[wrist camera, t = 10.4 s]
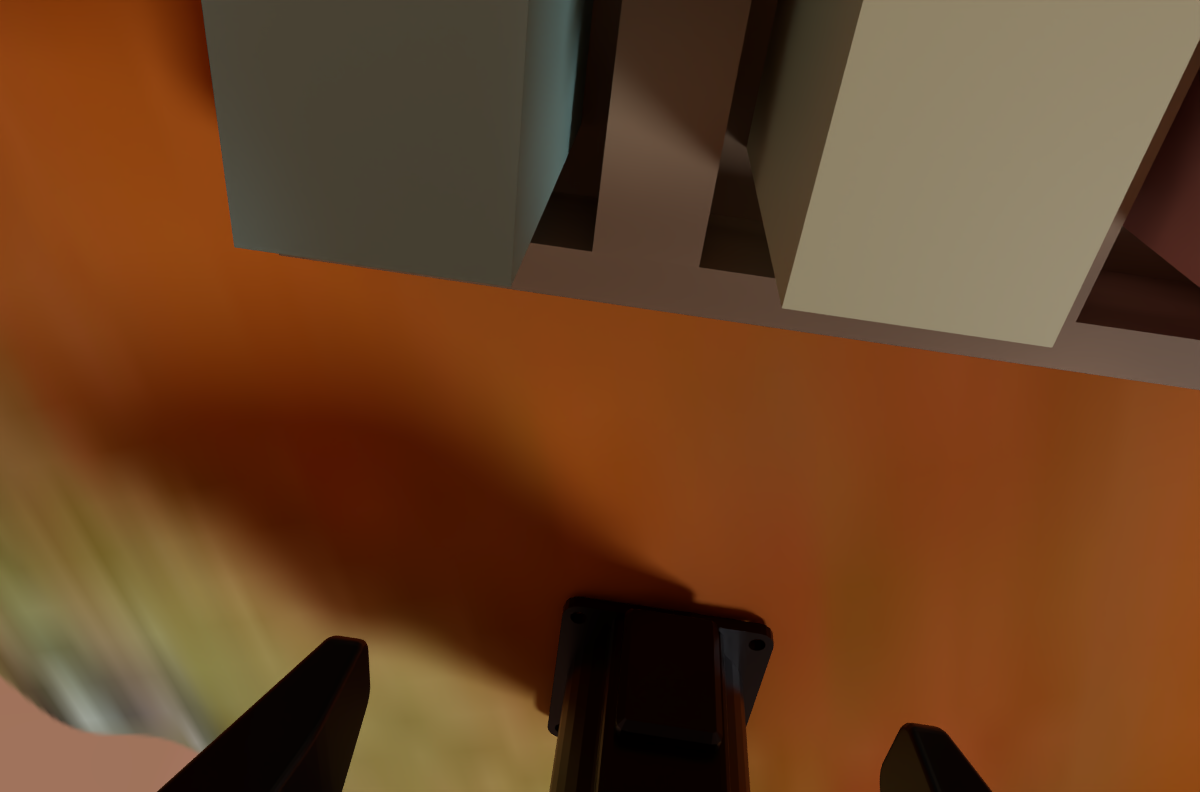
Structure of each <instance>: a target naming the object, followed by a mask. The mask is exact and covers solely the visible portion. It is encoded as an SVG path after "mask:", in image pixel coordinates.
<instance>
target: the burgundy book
mask: <svg viewBox="0 0 1200 792" xmlns="http://www.w3.org/2000/svg"><path fill="white" fill-rule="evenodd" d="M1123 227H1124V228H1126V229H1127V230H1128V231H1129V232H1131V233H1132V234H1133V235H1134V236H1136V237H1137V238H1138V239H1139V240H1141V241H1142V242H1143V243H1144V244H1146V245H1147V246H1148V247H1149V248H1151V249H1152V250H1153V251H1154V252H1156V253H1157V254H1158V255H1159V256H1161V257H1162V258H1163V259H1164V260H1166V261H1167V262H1168V263H1170V264H1171V265H1172V266H1173V267H1175V268H1176V269H1177V270H1178V271H1180V272H1181V273H1182V274H1183V275H1185V276H1186V277H1187V278H1188V279H1190V280H1191V281H1192V282H1193V283H1195V284H1196V285H1197V286H1198V287H1200V67H1199V70H1198V72H1197V74H1196V76H1195V78H1194V80H1193V82H1192V84H1191V86H1190V88H1189V90H1188V92H1187V94H1186V96H1185V98H1184V100H1183V102H1182V104H1181V107H1180V109H1179V111H1178V113H1177V115H1176V117H1175V119H1174V121H1173V123H1172V125H1171V127H1170V129H1169V131H1168V133H1167V135H1166V137H1165V139H1164V141H1163V144H1162V146H1161V148H1160V150H1159V152H1158V154H1157V156H1156V158H1155V160H1154V162H1153V164H1152V166H1151V168H1150V170H1149V172H1148V174H1147V176H1146V178H1145V181H1144V183H1143V185H1142V187H1141V189H1140V191H1139V193H1138V195H1137V197H1136V199H1135V201H1134V203H1133V205H1132V207H1131V209H1130V211H1129V213H1128V216H1127V218H1126V220H1125V222H1124V224H1123Z"/></svg>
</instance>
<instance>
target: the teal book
mask: <svg viewBox="0 0 1200 792" xmlns="http://www.w3.org/2000/svg"><path fill="white" fill-rule="evenodd" d="M593 1H594V0H201V3H202V11H203V18H204V25H205V33H206V40H207V48H208V55H209V62H210V70H211V77H212V85H213V92H214V99H215V107H216V114H217V122H218V129H219V136H220V144H221V151H222V159H223V166H224V173H225V181H226V188H227V196H228V203H229V210H230V218H231V225H232V233H233V240H234V247H237V248H244V249H251V250H258V251H265V252H272V253H279V254H285V255H292V256H299V257H306V258H313V259H320V260H327V261H334V262H341V263H348V264H354V265H361V266H368V267H375V268H382V269H389V270H396V271H403V272H410V273H417V274H424V275H430V276H437V277H444V278H451V279H458V280H465V281H472V282H479V283H486V284H493V285H499V286H506V287H511V285H512V283H513V281H514V279H515V276H516V274H517V272H518V269H519V267H520V265H521V262H522V260H523V258H524V255H525V253H526V251H527V248H528V246H529V244H530V242H531V239H532V237H533V235H534V232H535V230H536V228H537V225H538V223H539V221H540V218H541V216H542V214H543V212H544V209H545V207H546V205H547V202H548V200H549V198H550V195H551V193H552V191H553V188H554V186H555V184H556V181H557V179H558V177H559V175H560V172H561V170H562V168H563V165H564V163H565V161H566V158H567V156H568V154H569V151H570V149H571V147H572V144H573V142H574V140H575V138H576V135H577V133H578V131H579V128H580V126H581V120H582V110H583V100H584V90H585V81H586V71H587V61H588V51H589V41H590V31H591V21H592V11H593Z"/></svg>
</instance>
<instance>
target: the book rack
mask: <svg viewBox="0 0 1200 792" xmlns="http://www.w3.org/2000/svg"><path fill="white" fill-rule="evenodd" d="M777 2H778V0H594V1H593V11H592V21H591V31H590V41H589V51H588V61H587V71H586V81H585V90H584V100H583V110H582V120H581V126H580V128H579V131H578V133H577V135H576V138H575V140H574V142H573V144H572V147H571V149H570V151H569V154H568V156H567V158H566V161H565V163H564V165H563V168H562V170H561V172H560V175H559V177H558V179H557V181H556V184H555V186H554V188H553V191H552V193H551V195H550V198H549V200H548V202H547V205H546V207H545V209H544V212H543V214H542V216H541V218H540V221H539V223H538V225H537V228H536V230H535V232H534V235H533V237H532V239H531V242H530V244H529V246H528V248H527V251H526V253H525V255H524V258H523V260H522V262H521V265H520V267H519V269H518V272H517V274H516V276H515V279H514V281H513V283H512V285H511V287H506V286H499V285H493V284H486V283H479V282H472V281H465V280H458V279H451V278H444V277H437V276H430V275H424V274H417V273H410V272H403V271H396V270H389V269H382V268H375V267H368V266H361V265H354V264H348V263H341V262H334V261H327V260H320V259H313V258H306V257H299V256H292V255H285V254H279V255H281V256H288V257H295V258H302V259H309V260H316V261H322V262H329V263H336V264H343V265H350V266H357V267H363V268H370V269H377V270H384V271H391V272H398V273H404V274H411V275H418V276H425V277H432V278H439V279H445V280H452V281H459V282H466V283H473V284H480V285H486V286H493V287H500V288H507V289H514V290H521V291H527V292H534V293H541V294H548V295H555V296H562V297H568V298H575V299H582V300H589V301H596V302H603V303H609V304H616V305H623V306H630V307H637V308H644V309H650V310H657V311H664V312H671V313H678V314H685V315H691V316H698V317H705V318H712V319H719V320H726V321H732V322H739V323H746V324H753V325H760V326H767V327H773V328H780V329H787V330H794V331H801V332H808V333H814V334H821V335H828V336H835V337H842V338H849V339H855V340H862V341H869V342H876V343H883V344H890V345H896V346H903V347H910V348H917V349H924V350H931V351H937V352H944V353H951V354H958V355H965V356H972V357H978V358H985V359H992V360H999V361H1006V362H1013V363H1019V364H1026V365H1033V366H1040V367H1047V368H1054V369H1060V370H1067V371H1074V372H1081V373H1088V374H1095V375H1101V376H1108V377H1115V378H1122V379H1129V380H1136V381H1142V382H1149V383H1156V384H1163V385H1170V386H1177V387H1183V388H1190V389H1197V390H1200V287H1198V286H1197V285H1196V284H1195V283H1193V282H1192V281H1191V280H1190V279H1188V278H1187V277H1186V276H1185V275H1183V274H1182V273H1181V272H1180V271H1178V270H1177V269H1176V268H1175V267H1173V266H1172V265H1171V264H1170V263H1168V262H1167V261H1166V260H1164V259H1163V258H1162V257H1161V256H1159V255H1158V254H1157V253H1156V252H1154V251H1153V250H1152V249H1151V248H1149V247H1148V246H1147V245H1146V244H1144V243H1143V242H1142V241H1141V240H1139V239H1138V238H1137V237H1136V236H1134V235H1133V234H1132V233H1131V232H1129V231H1128V230H1127V229H1126V228H1124V227H1123V224H1124V222H1125V220H1126V218H1127V216H1128V213H1129V211H1130V209H1131V207H1132V205H1133V203H1134V201H1135V199H1136V197H1137V195H1138V193H1139V191H1140V189H1141V187H1142V185H1143V183H1144V181H1145V178H1146V176H1147V174H1148V172H1149V170H1150V168H1151V166H1152V164H1153V162H1154V160H1155V158H1156V156H1157V154H1158V152H1159V150H1160V148H1161V146H1162V144H1163V141H1164V139H1165V137H1166V135H1167V133H1168V131H1169V129H1170V127H1171V125H1172V123H1173V121H1174V119H1175V117H1176V115H1177V113H1178V111H1179V109H1180V107H1181V104H1182V102H1183V100H1184V98H1185V96H1186V94H1187V92H1188V90H1189V88H1190V86H1191V84H1192V82H1193V80H1194V78H1195V76H1196V74H1197V72H1198V70H1199V67H1200V40H1199V42H1198V44H1197V46H1196V48H1195V50H1194V52H1193V54H1192V56H1191V58H1190V61H1189V63H1188V65H1187V67H1186V69H1185V71H1184V73H1183V75H1182V77H1181V79H1180V81H1179V84H1178V86H1177V88H1176V90H1175V92H1174V94H1173V96H1172V98H1171V100H1170V102H1169V104H1168V107H1167V109H1166V111H1165V113H1164V115H1163V117H1162V119H1161V121H1160V123H1159V125H1158V127H1157V130H1156V132H1155V134H1154V136H1153V138H1152V140H1151V142H1150V144H1149V146H1148V148H1147V151H1146V153H1145V155H1144V157H1143V159H1142V161H1141V163H1140V165H1139V167H1138V169H1137V171H1136V174H1135V176H1134V178H1133V180H1132V182H1131V184H1130V186H1129V188H1128V190H1127V192H1126V194H1125V197H1124V199H1123V201H1122V203H1121V205H1120V207H1119V209H1118V211H1117V213H1116V215H1115V217H1114V220H1113V222H1112V224H1111V226H1110V228H1109V230H1108V232H1107V234H1106V236H1105V238H1104V240H1103V243H1102V245H1101V247H1100V249H1099V251H1098V253H1097V255H1096V257H1095V259H1094V261H1093V263H1092V266H1091V268H1090V270H1089V272H1088V274H1087V276H1086V278H1085V280H1084V282H1083V284H1082V286H1081V289H1080V291H1079V293H1078V295H1077V297H1076V299H1075V301H1074V303H1073V305H1072V307H1071V309H1070V312H1069V314H1068V316H1067V318H1066V320H1065V322H1064V324H1063V326H1062V328H1061V330H1060V333H1059V335H1058V337H1057V339H1056V341H1055V343H1054V345H1053V347H1052V348H1051V347H1044V346H1037V345H1030V344H1023V343H1017V342H1010V341H1003V340H996V339H989V338H982V337H976V336H969V335H962V334H955V333H948V332H941V331H934V330H928V329H921V328H914V327H907V326H900V325H893V324H887V323H880V322H873V321H866V320H859V319H852V318H845V317H839V316H832V315H825V314H818V313H811V312H804V311H797V310H791V309H784V308H782V307H781V302H780V297H779V293H778V288H777V284H776V279H775V275H774V270H773V266H772V261H771V257H770V252H769V247H768V243H767V238H766V234H765V229H764V225H763V220H762V216H761V211H760V207H759V202H758V197H757V193H756V188H755V184H754V179H753V175H752V170H751V166H750V161H749V157H748V152H747V143H748V138H749V134H750V129H751V124H752V120H753V115H754V110H755V105H756V101H757V96H758V91H759V87H760V82H761V77H762V73H763V68H764V63H765V59H766V54H767V49H768V44H769V40H770V35H771V30H772V26H773V21H774V16H775V12H776V7H777Z"/></svg>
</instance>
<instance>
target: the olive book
mask: <svg viewBox="0 0 1200 792" xmlns="http://www.w3.org/2000/svg"><path fill="white" fill-rule="evenodd" d="M1199 40H1200V0H778V2H777V7H776V12H775V16H774V21H773V26H772V30H771V35H770V40H769V44H768V49H767V54H766V59H765V63H764V68H763V73H762V77H761V82H760V87H759V91H758V96H757V101H756V105H755V110H754V115H753V120H752V124H751V129H750V134H749V138H748V143H747V152H748V157H749V161H750V166H751V170H752V175H753V179H754V184H755V188H756V193H757V197H758V202H759V207H760V211H761V216H762V220H763V225H764V229H765V234H766V238H767V243H768V247H769V252H770V257H771V261H772V266H773V270H774V275H775V279H776V284H777V288H778V293H779V297H780V302H781V307H782V308H784V309H791V310H797V311H804V312H811V313H818V314H825V315H832V316H839V317H845V318H852V319H859V320H866V321H873V322H880V323H887V324H893V325H900V326H907V327H914V328H921V329H928V330H934V331H941V332H948V333H955V334H962V335H969V336H976V337H982V338H989V339H996V340H1003V341H1010V342H1017V343H1023V344H1030V345H1037V346H1044V347H1051V348H1052V347H1053V345H1054V343H1055V341H1056V339H1057V337H1058V335H1059V333H1060V330H1061V328H1062V326H1063V324H1064V322H1065V320H1066V318H1067V316H1068V314H1069V312H1070V309H1071V307H1072V305H1073V303H1074V301H1075V299H1076V297H1077V295H1078V293H1079V291H1080V289H1081V286H1082V284H1083V282H1084V280H1085V278H1086V276H1087V274H1088V272H1089V270H1090V268H1091V266H1092V263H1093V261H1094V259H1095V257H1096V255H1097V253H1098V251H1099V249H1100V247H1101V245H1102V243H1103V240H1104V238H1105V236H1106V234H1107V232H1108V230H1109V228H1110V226H1111V224H1112V222H1113V220H1114V217H1115V215H1116V213H1117V211H1118V209H1119V207H1120V205H1121V203H1122V201H1123V199H1124V197H1125V194H1126V192H1127V190H1128V188H1129V186H1130V184H1131V182H1132V180H1133V178H1134V176H1135V174H1136V171H1137V169H1138V167H1139V165H1140V163H1141V161H1142V159H1143V157H1144V155H1145V153H1146V151H1147V148H1148V146H1149V144H1150V142H1151V140H1152V138H1153V136H1154V134H1155V132H1156V130H1157V127H1158V125H1159V123H1160V121H1161V119H1162V117H1163V115H1164V113H1165V111H1166V109H1167V107H1168V104H1169V102H1170V100H1171V98H1172V96H1173V94H1174V92H1175V90H1176V88H1177V86H1178V84H1179V81H1180V79H1181V77H1182V75H1183V73H1184V71H1185V69H1186V67H1187V65H1188V63H1189V61H1190V58H1191V56H1192V54H1193V52H1194V50H1195V48H1196V46H1197V44H1198V42H1199Z"/></svg>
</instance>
